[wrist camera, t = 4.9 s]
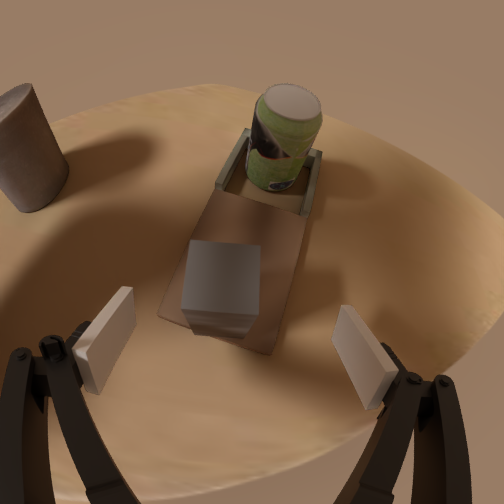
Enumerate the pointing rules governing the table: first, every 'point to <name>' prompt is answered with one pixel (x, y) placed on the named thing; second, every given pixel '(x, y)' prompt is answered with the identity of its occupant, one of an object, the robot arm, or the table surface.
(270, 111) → the beverage can
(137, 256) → the table surface
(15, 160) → the pillar candle
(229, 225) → the pull strip
